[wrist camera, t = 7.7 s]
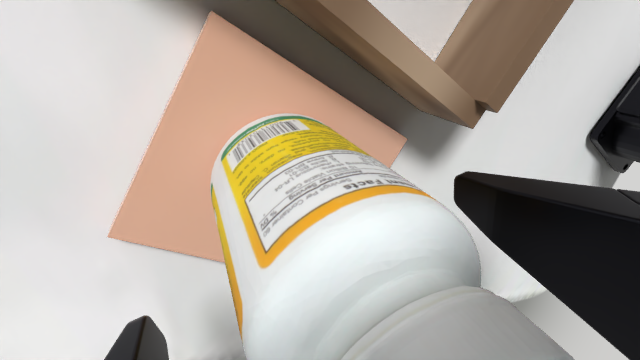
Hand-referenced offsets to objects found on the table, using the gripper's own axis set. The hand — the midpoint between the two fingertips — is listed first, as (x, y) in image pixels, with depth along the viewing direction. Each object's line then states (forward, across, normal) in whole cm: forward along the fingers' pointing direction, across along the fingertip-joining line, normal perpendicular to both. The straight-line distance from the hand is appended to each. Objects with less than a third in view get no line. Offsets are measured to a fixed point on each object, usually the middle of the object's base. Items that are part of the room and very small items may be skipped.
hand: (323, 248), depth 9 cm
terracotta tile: (+5, 0, 0) cm, 5 cm away
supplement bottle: (+5, 0, 0) cm, 5 cm away
